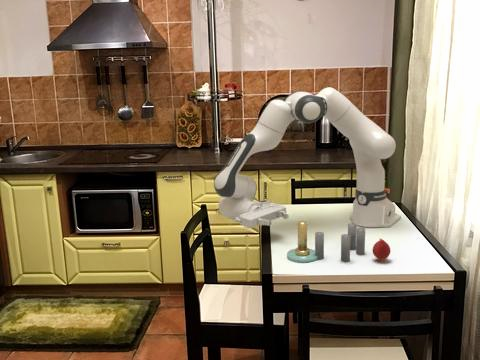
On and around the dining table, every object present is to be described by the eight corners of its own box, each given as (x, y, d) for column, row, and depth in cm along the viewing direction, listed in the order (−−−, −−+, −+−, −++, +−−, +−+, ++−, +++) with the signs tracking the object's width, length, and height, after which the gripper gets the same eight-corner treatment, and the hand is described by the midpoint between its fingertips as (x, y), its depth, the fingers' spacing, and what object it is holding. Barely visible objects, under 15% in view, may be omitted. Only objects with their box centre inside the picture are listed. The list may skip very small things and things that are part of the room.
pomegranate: (387, 257, 185) (387, 235, 184) (392, 263, 180) (393, 240, 178) (370, 257, 185) (370, 235, 183) (374, 264, 180) (375, 241, 178)
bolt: (301, 249, 191) (301, 219, 189) (313, 253, 188) (313, 222, 185) (291, 253, 188) (291, 222, 185) (303, 257, 184) (303, 225, 182)
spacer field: (343, 244, 199) (344, 221, 197) (369, 251, 191) (370, 227, 189) (313, 258, 187) (313, 233, 185) (339, 266, 179) (339, 240, 177)
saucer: (300, 248, 196) (300, 245, 195) (325, 256, 188) (325, 253, 188) (280, 257, 188) (280, 254, 188) (304, 265, 181) (304, 262, 180)
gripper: (231, 211, 197) (258, 218, 187) (269, 199, 211) (296, 205, 201) (232, 227, 199) (259, 235, 189) (270, 214, 212) (297, 221, 202)
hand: (278, 219), depth 195 cm, fingers open, 8 cm apart
